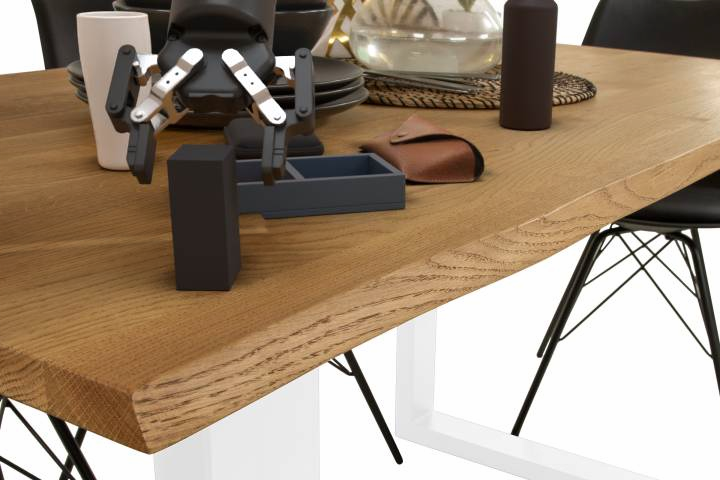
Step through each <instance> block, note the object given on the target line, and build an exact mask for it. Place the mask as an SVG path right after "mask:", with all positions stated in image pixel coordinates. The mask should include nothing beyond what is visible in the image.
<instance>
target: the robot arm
mask: <svg viewBox="0 0 720 480" xmlns="http://www.w3.org/2000/svg"><path fill="white" fill-rule="evenodd" d="M277 4H278V0H171V5H170V12H169V19H168V26H167V35H166V41H165V45H164V47H162V49H161V50H160V51H159V53H158V54H154V53H152V54H140V53H137V52H136V50H135V47H134V46H132V45H129V44H126V45H123V46H121V47H120V48H119V50H118V54H117V59H116V63H115V67H114V71H113V75H112V80H111V84H110V88H109V92H108V96H107V101H106V105H105V109H106V111H107V114H108V116H109V118H110V120H111V122H112V124H113V127H114V129H115V131H116V132H118V133H126V132H128V133H130V136H129V142H128V149H127V156H126V161H127V164H128V166H129V169H130V170H129V171H130V173H131V175H132V177H135V178H136V179H137V182H138V184H139V185H152V181H153V174H154V166H155V160H156V159H155V158H156V152H157V143H158V141H157V138H156V137H157V136H158V135H159V134H160V133H162V131H163V130H165V128H167V127H168V126H169V125H175V124H176V123H178V122H179V121H180V120H181V119H182V118H183V117H184V116H185V115H186V114H187V113H189V112H190V111H193V114H196V115H197V114H198V115H205V114H206V115H207V114H210V113H221V114H224V115H238V114H239V111H243V110H246V111H247V112H248V114H249V115H250V116H251V118H254V119H255V121H256V122H257V123H258V124H259V125H262V126H263V128H264V140H263V152H262V164H261V174H262V179H263V183H264V186H275V181H276V179H282V178H283V176H284V174H285V171H286V157H287V144H288V141H289V139H290V138H292V137H293V136H296V135H299V134H301V135H303V136H311V135H312V134H313V133H314V134H315V132H316V87H315V82H316V81H315V69H314V62H313V61H314V60H313V54H312V51H311V49H309V48H307V47H299V48H298V49H296V50H295V52H294V55H288V56H287V55H286V56H284V55H283V56H275V54H274V52H273V47H274V46H273V44H274V35H275V34H274V33H275V20H276V9H277ZM155 74H159V75H160V76H161V77H160V78H159V80H157V81H156V82H154V84H152V88H151V90H150V94H149V95H148V96H147V97H146V98H145V99H144V100H143V101H142V102H141V103H140V104H139V105H138V106H137V107H136V104H137V99H138V95H139V90H140V86H143V87H144V86H146V85H147V82H148V81H149V79H150V77H151V75H152V76H153V75H155ZM277 76H282V77H283V78H284V79H285V83H286V85H287V86H288V87H291V88H292V89H293V90H294V108H293V109H289V110H286V111H284V110H283V108H282V107H280V105H279V103H277V102H276V100H275V99H274V98H273V96H272V95H271V93H270V91H269V89H268V87H269V86H270V85H271V84H272V83H273V82H274V81H275V80H276V79H277ZM174 95H175V98H173V96H174Z"/></svg>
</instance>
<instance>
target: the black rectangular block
mask: <svg viewBox="0 0 720 480" xmlns="http://www.w3.org/2000/svg"><path fill="white" fill-rule="evenodd" d="M236 160H237V158H236V151H235V145H227V144H225V145H220V144H199V143H196V144H193V143H192V144H191V143H184V144H183V143H182V145H181V146H179V148H177V149H176V150H175V151H174V152H173V153H172V154H171V155H170V156H169V157H168V158H167V159H166V169H167V171H166V172H167V182H168V197H169V198H168V199H169V209H170V224H171V225H170V226H171V236H172V237H171V238H172V250H173V260H174V261H173V263H174V278H175V289H176V290H177V291H230V290H231V288H232V286H233V284H234V282H235V281H236V279H237V277H238V275H239V273H240V271H241V269H242V253H241V233H240V231H241V230H240V214H239V210H238V191H237V171H236Z"/></svg>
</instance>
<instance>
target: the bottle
mask: <svg viewBox="0 0 720 480" xmlns="http://www.w3.org/2000/svg"><path fill="white" fill-rule="evenodd" d="M558 5H559V4H558V3H557V2H556V1H555V0H506V1H505V3H504V4H503V13H502V14H503V15H502V41H501V62H500V63H501V64H500V66H501V67H500V87H499V88H500V89H499V110H498V111H499V114H498V123H499V125H500V126H501V127H503V128H507V129H511V130H518V131H538V130H539V131H540V130H545V129H548V128H550V127H552V120H553V105H554V87H555V86H554V85H555V69H556V54H557V53H556V51H557V36H558V35H557V34H558V18H559V6H558Z"/></svg>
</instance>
